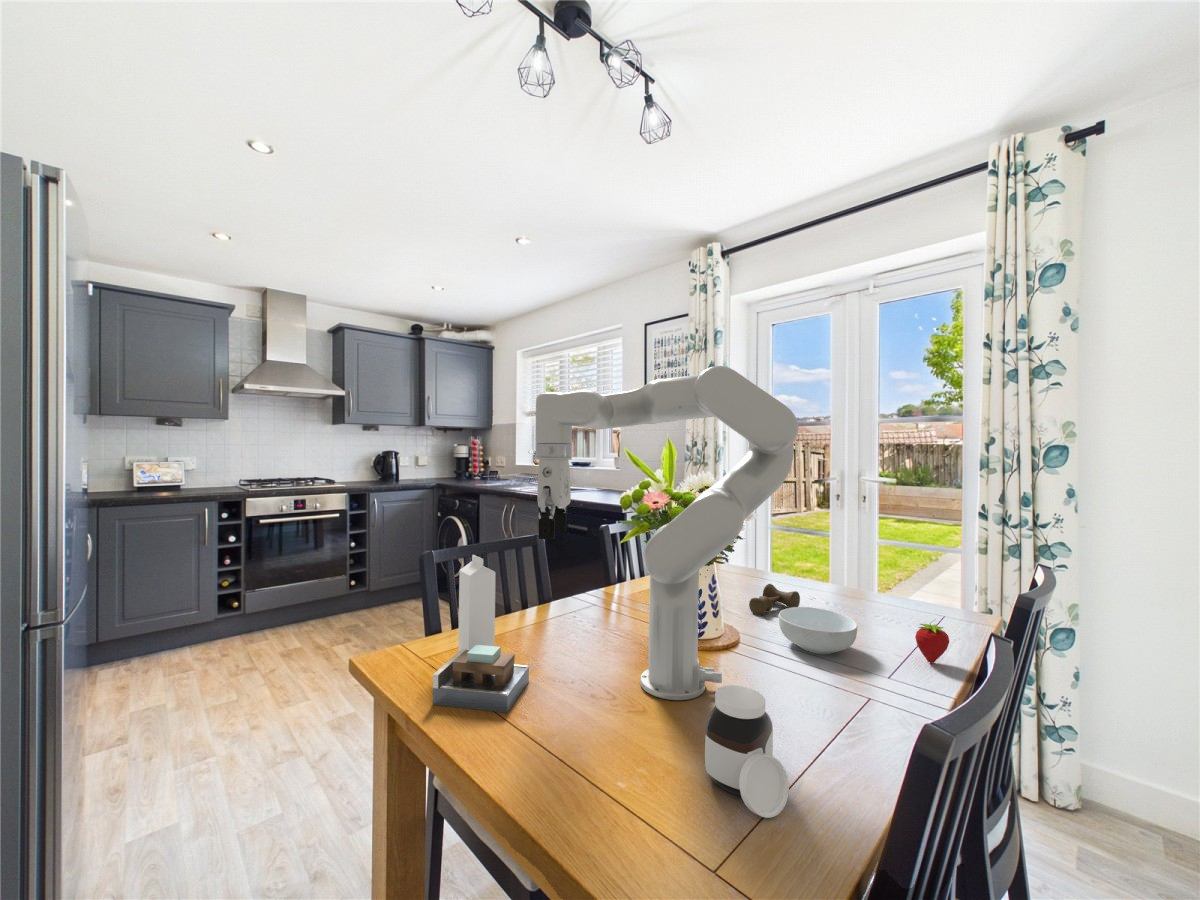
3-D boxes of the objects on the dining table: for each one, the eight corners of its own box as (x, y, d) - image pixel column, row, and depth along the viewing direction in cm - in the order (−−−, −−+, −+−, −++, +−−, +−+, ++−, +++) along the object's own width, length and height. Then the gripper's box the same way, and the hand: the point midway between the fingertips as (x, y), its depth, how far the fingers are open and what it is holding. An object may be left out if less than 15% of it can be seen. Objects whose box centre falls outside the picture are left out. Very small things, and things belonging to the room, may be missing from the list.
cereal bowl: (778, 656, 112) (779, 624, 112) (777, 631, 128) (778, 603, 128) (862, 667, 107) (863, 634, 107) (851, 640, 123) (851, 611, 123)
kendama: (740, 612, 144) (777, 598, 157) (771, 622, 137) (807, 606, 150) (741, 592, 144) (778, 579, 157) (771, 601, 136) (807, 587, 149)
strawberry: (955, 664, 109) (956, 619, 109) (937, 672, 105) (938, 624, 105) (926, 654, 114) (927, 611, 114) (908, 661, 110) (909, 616, 110)
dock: (528, 681, 98) (529, 653, 98) (507, 712, 86) (507, 681, 86) (462, 674, 101) (462, 648, 101) (432, 704, 89) (432, 674, 89)
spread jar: (730, 752, 76) (731, 676, 76) (805, 785, 69) (806, 701, 69) (688, 791, 67) (690, 705, 67) (770, 835, 60) (772, 738, 60)
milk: (468, 664, 106) (469, 561, 105) (457, 655, 110) (458, 555, 110) (495, 657, 109) (496, 557, 109) (483, 648, 114) (484, 552, 114)
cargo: (500, 654, 95) (500, 646, 95) (492, 663, 91) (492, 655, 91) (475, 652, 96) (475, 644, 96) (466, 661, 92) (467, 653, 92)
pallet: (514, 672, 95) (514, 654, 95) (504, 685, 90) (504, 666, 90) (465, 667, 97) (465, 649, 97) (452, 680, 92) (452, 661, 92)
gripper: (561, 453, 94) (560, 543, 94) (579, 452, 111) (579, 529, 111) (523, 452, 96) (522, 541, 96) (547, 452, 113) (546, 528, 113)
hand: (553, 534), depth 104 cm, fingers open, 9 cm apart
